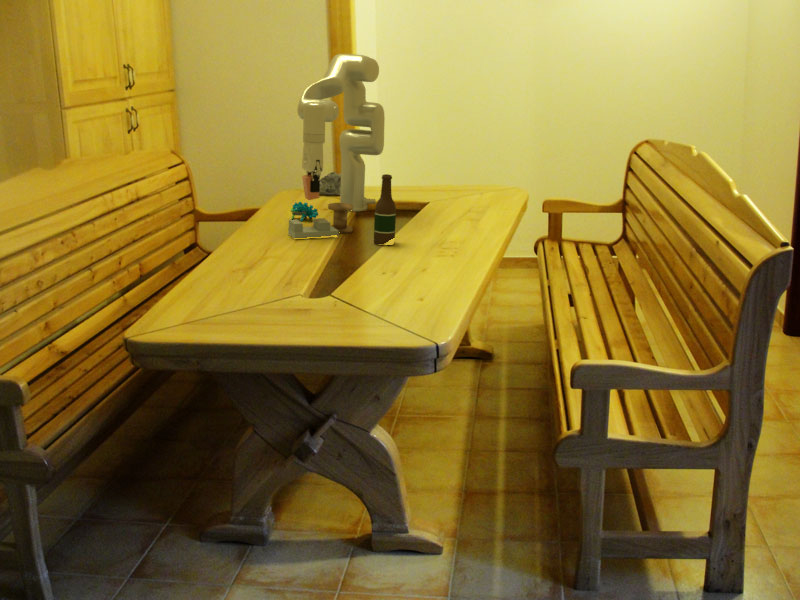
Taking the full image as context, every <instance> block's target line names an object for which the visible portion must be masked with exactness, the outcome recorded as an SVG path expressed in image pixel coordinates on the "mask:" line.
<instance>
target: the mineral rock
mask: <svg viewBox="0 0 800 600" xmlns="http://www.w3.org/2000/svg"><path fill="white" fill-rule="evenodd" d="M340 193H341V173H337V172H336V171H332V172H329V173H328V174H327V175H325V176H323V177H322V178H321V177H320V191H319V195H324V196H332V195H335V196H337V195H338V196H340Z"/></svg>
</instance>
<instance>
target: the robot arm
mask: <svg viewBox="0 0 800 600" xmlns="http://www.w3.org/2000/svg"><path fill="white" fill-rule="evenodd" d="M379 75H380V66H379V63H378V62H377V60H376V59H374V58H372V57H369V56H367V55H363V54H353V53H352V54H351V53H339V54H336V55H334V56H333V57H332V58H331V61H330V63H329V65H328V67H327V69H326V72H325V73H324V76H323V78H321V79H319V80H318V81H315V82H314V83H312V84H311V85H309V86H308V87H306V88H305V89H304V91H303V92H302V95H301V96H300V99H299V102H298V104H297V115H298V117H299V118H300V119H301V120H303V126H302V127H303V129H302V131H303V132H302V143H303V148H302V162H301V164H302V165H301V167H302V169H303V170H304V171H305V172H306V174H305V175H309V174H311V179H312V181H311V183H310V192H319V191H320V179H321V175H322V172H323V171H324V144H325V143H326V123H331V122H334V121H335V120H337V118H338V117H339V113H340V109H339V105H338V104H337V102H335V101H333V100H329V99H330V98H334V97H336V96H339V95H341V94H342V93H343V120H344V123H345V124H346V125H348V126H350V127H351V126H352V127H363V128H370V129H369V130H368V129H367V130H366V129H360V128H359V129H358V128H347V129H344V130H343V131H341V133H340V135H339V146H340V147H339V149H340V158H341V159H340V160H341V161H340V164H341V165H340V174H341V193H340V195H339V197H340V198H339V199H340V202H339V203H348V204H352V205H353V210H352V211H351V212H363V211H367V210H369V209H368V207H369V204H370V205H374V204H375V205H376V204H377V201H376V198H367V197H365V183H366V182H365V181H366V177H365V176H366V164H365V161H364V159H363V158H362V156H361V155H364V156H366V155H367V156H380V155H381V154H382V153H383V151H384V146H385V110H384V107H383V105H382V104H380V103H378V102H369V101H367V100H366V94H367V93H366V91H367V90H366V87H365V85H364V82H365V83H373V82H375V81H377V79H378V77H379Z"/></svg>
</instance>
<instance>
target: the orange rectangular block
mask: <svg viewBox="0 0 800 600" xmlns="http://www.w3.org/2000/svg"><path fill="white" fill-rule="evenodd" d="M301 177H302V184H303V192H304V197H305V199H306V200H307V201H312V200H315V199H317V200H318V199H320V194H319V192H310V183H311V181H312V179H311V174H309V175H306V174H305V175H302V176H301Z"/></svg>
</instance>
